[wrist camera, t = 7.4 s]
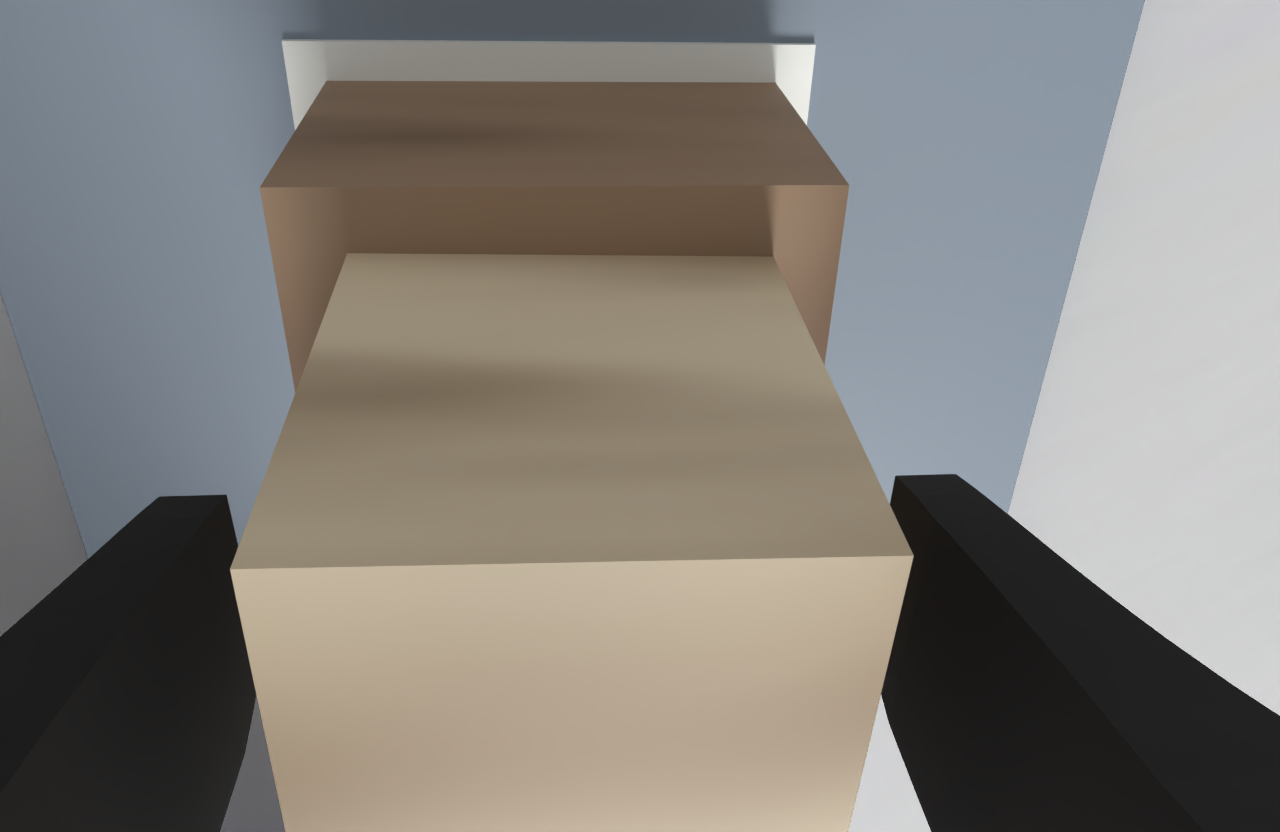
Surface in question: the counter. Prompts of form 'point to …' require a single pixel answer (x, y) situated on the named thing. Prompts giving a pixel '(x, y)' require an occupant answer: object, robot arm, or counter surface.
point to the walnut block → (550, 182)
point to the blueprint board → (530, 52)
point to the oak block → (567, 555)
